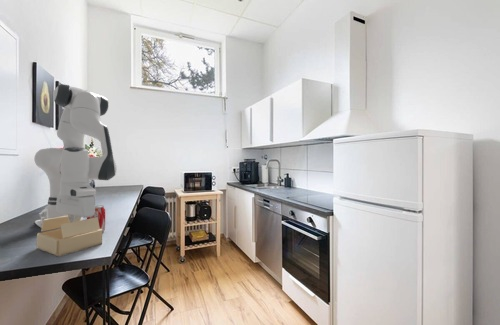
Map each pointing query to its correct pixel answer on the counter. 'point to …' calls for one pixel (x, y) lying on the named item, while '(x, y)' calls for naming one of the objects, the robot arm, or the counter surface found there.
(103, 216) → the soda can
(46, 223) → the flap rear
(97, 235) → the carton
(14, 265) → the counter surface
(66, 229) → the flap front
